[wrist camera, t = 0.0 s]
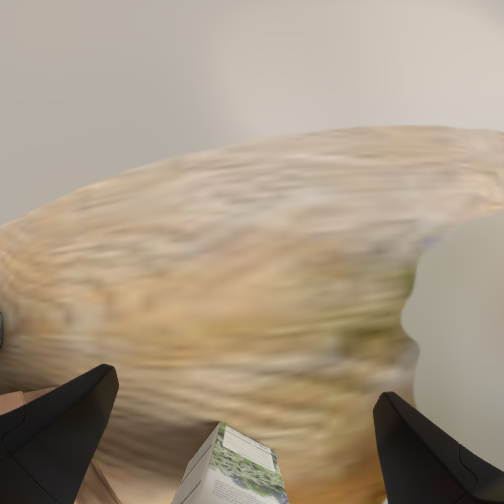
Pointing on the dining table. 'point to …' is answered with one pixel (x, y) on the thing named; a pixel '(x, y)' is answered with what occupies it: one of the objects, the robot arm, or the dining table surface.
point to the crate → (94, 483)
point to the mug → (1, 330)
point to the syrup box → (232, 472)
